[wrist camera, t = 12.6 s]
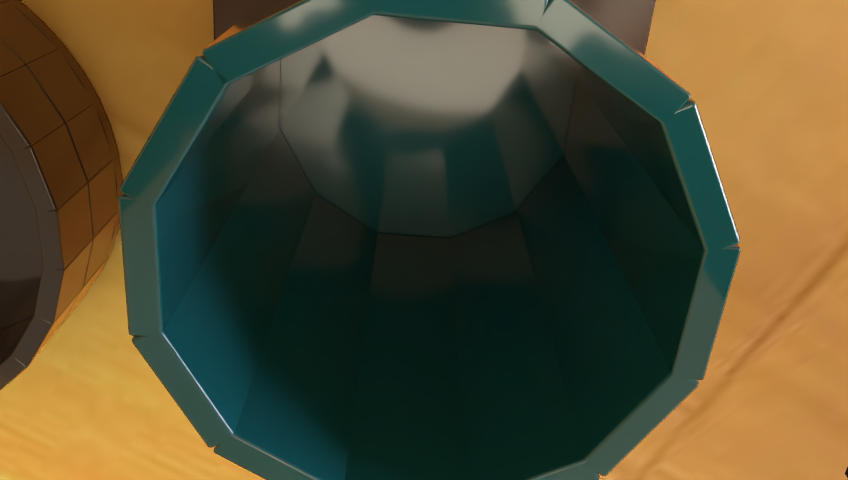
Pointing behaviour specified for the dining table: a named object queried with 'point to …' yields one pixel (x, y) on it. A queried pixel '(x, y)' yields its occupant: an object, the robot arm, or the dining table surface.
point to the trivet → (613, 3)
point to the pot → (426, 242)
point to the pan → (48, 186)
